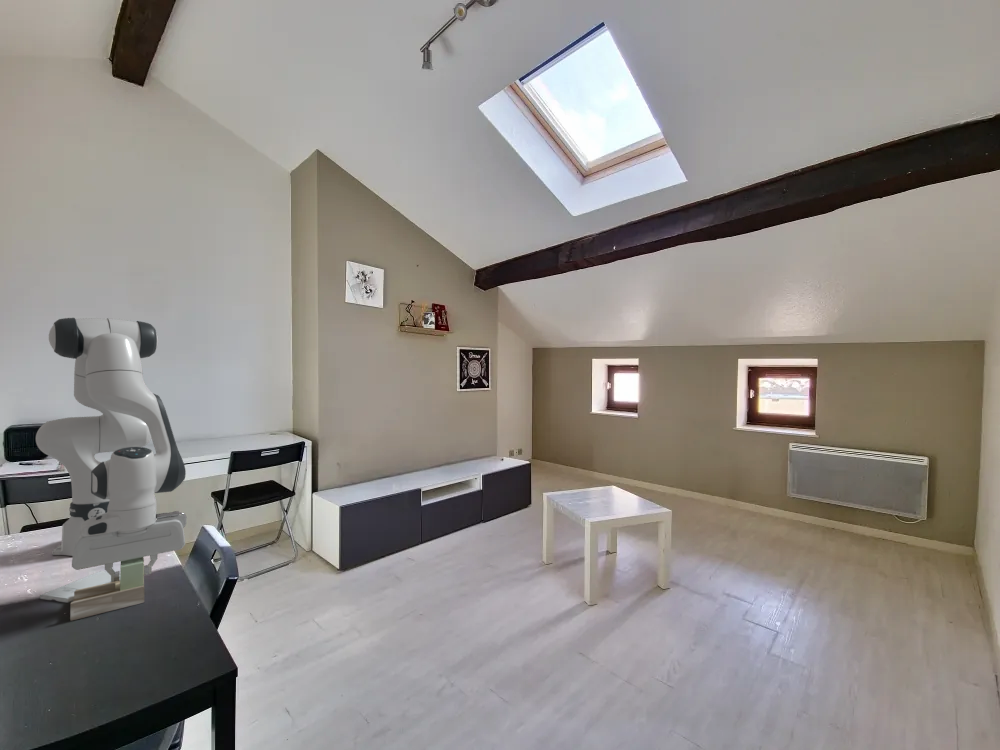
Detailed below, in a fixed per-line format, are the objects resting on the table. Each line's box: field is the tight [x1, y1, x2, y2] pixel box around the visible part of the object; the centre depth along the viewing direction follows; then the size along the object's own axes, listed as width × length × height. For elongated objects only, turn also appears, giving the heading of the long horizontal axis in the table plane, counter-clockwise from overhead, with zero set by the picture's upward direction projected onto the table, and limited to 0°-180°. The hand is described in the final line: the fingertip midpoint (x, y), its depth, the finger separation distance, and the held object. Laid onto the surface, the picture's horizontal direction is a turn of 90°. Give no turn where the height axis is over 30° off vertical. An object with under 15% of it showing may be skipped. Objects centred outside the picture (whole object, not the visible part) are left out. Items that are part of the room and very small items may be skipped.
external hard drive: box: [39, 570, 120, 604], centre depth 106 cm, size 2×8×12 cm
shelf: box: [69, 580, 145, 622], centre depth 100 cm, size 12×12×4 cm
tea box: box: [119, 557, 145, 591], centre depth 103 cm, size 4×6×6 cm, turn 40°
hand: (131, 577), depth 103 cm, fingers open, 4 cm apart
